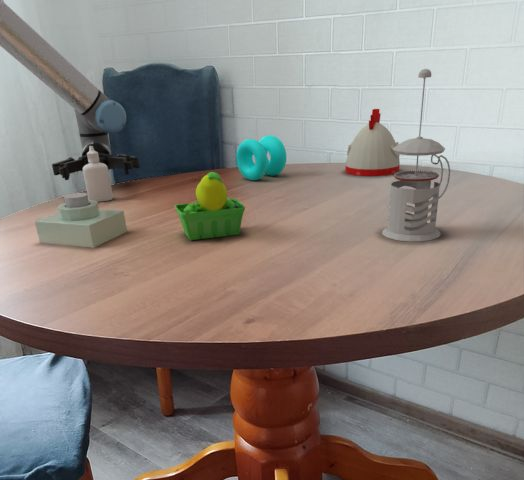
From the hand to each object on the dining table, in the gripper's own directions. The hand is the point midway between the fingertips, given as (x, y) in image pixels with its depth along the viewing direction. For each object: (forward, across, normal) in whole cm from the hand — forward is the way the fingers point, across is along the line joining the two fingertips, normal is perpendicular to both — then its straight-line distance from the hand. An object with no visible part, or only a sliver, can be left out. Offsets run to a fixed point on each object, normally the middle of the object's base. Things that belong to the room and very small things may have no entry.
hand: (96, 171), depth 124 cm
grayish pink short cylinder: (+32, +3, -1) cm, 32 cm away
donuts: (-7, -41, -7) cm, 42 cm away
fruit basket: (+40, -19, -7) cm, 45 cm away
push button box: (+31, +3, -6) cm, 32 cm away
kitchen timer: (-1, -70, -6) cm, 70 cm away
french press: (+52, -52, -7) cm, 75 cm away
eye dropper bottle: (+1, 0, -7) cm, 7 cm away
